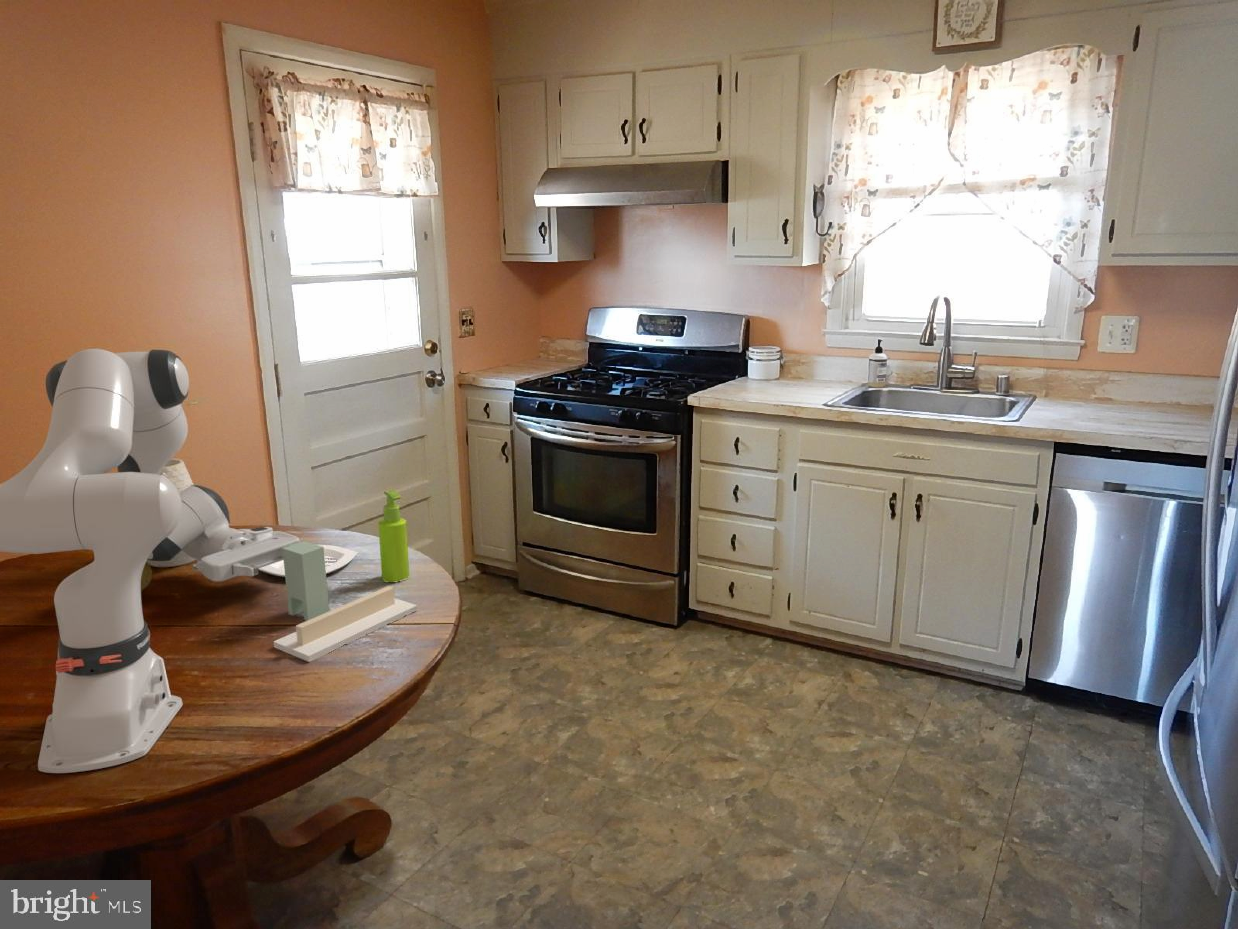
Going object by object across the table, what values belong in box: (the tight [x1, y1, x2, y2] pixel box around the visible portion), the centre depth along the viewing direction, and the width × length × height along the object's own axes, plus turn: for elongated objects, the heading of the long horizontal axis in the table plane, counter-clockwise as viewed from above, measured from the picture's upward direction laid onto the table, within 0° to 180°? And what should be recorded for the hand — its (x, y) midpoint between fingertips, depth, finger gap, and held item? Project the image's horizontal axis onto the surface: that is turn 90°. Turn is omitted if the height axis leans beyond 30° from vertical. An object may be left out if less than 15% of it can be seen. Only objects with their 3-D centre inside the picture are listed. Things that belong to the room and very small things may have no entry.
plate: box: [258, 544, 358, 578], centre depth 195 cm, size 19×19×2 cm
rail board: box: [273, 585, 418, 663], centre depth 164 cm, size 26×10×5 cm, turn 147°
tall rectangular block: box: [282, 540, 330, 622], centre depth 169 cm, size 5×6×14 cm
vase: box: [146, 458, 197, 568], centre depth 196 cm, size 18×17×23 cm
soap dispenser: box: [377, 489, 410, 583], centre depth 186 cm, size 6×7×20 cm
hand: (275, 564), depth 174 cm, fingers open, 8 cm apart
